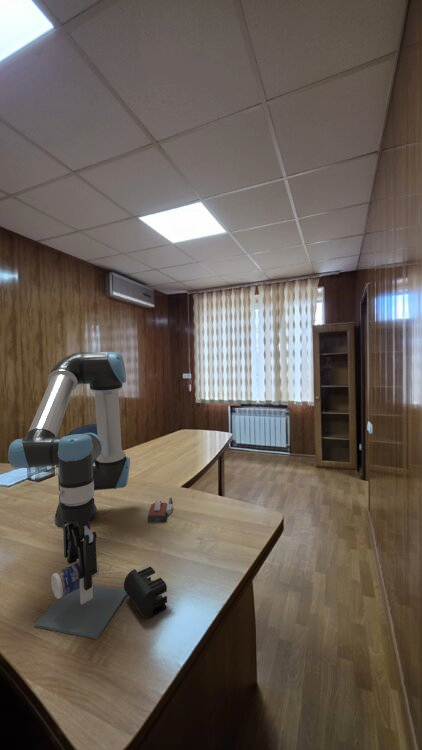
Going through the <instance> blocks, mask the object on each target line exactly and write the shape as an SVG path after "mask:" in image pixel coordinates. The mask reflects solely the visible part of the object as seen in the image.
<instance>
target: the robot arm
mask: <svg viewBox="0 0 422 750" xmlns="http://www.w3.org/2000/svg"><path fill="white" fill-rule="evenodd" d="M126 381H127V373H126V367H125V361H124V357H123V356H122V354H121V352H117V351H95V352H94V351H93V352H92V351H91V352H89V351H88V352H87V351H85V352H83V351H82V352H81V351H80V352H74V353H72V354H69V355H67V356H65V357H64V358H62V359H60V360H59V361H58V362H57V363H56V364H55V365H54V366H53V368H52V369H51V370H50V372H49V374H48V378H47V383H48V385H47V387H46V390H45V392H44V395H43V396H42V399H41V401H40V403H39V406H38V408H37V411H36V414H35V415H34V418H33V420H32V422H31V424H30V426H29V429H28V431H27V433H26V435H25V437H24V438H18V439H14V440H13V441H12V442H11V443H10V444H9V447H8V452H7V458H8V459H7V460H8V462H9V465H10V466H11V467H12V468H15V469H31V468H41V467H43V468H44V467H58V469H57V470H58V471H57V481H58V483H57V484H58V493H57V494H58V504H57V507H56V510H55V515H54V525H56V526H58V527H59V528H60V527H61V528H62V529H63V557H64V559H66V563H67V564H68V567H69V566H71V565H73V564H75V563H77V562H80V569H81V575H79V576H78V578H79V580H80V603H81V604H84V603H85V602H87V601H89V600H91V599H92V598H93V586H92V585H93V578H92V575H94V574H96V573H97V563H98V561H97V560H98V559H97V544H96V543H97V542H96V541H97V532H96V531H91V523H90V522H91V521H93V520H94V519H95V518H96V517H97V516H98V508H97V505H96V503H95V498H94V497H95V491H103V490H117V489H122V488H125V487H126V486H127V485H128V481H129V476H130V464H131V457H129V456H127V453H126V451H125V450H123V449H122V433H121V432H122V431H121V413H120V412H121V411H120V396H119V395H120V394H119V393H120V390H122V388H123V384H124V383H125V384H126ZM81 384H82V385H83V384H84V385H89V389H90V391H91V392H93V393H94V400H95V401H94V403H95V417H96V419H95V420H96V430H97V434H96V433H94V432H85V433H75V434H69V435H66V436H58V434H59V431H60V428H61V426H62V423H63V419H64V417H65V413H66V410H67V408H68V404H69V402H70V399H71V396H72V393H73V391H75V390H76V388H77V387H78V385H81Z"/></svg>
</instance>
